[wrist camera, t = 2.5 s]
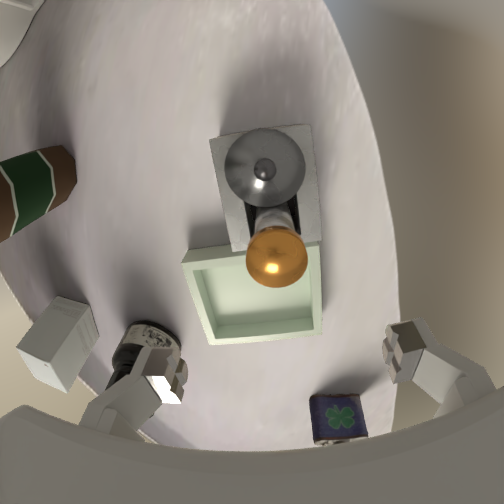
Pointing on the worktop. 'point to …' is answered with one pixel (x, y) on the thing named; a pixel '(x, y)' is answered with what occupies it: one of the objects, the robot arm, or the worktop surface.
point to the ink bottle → (138, 346)
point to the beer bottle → (33, 186)
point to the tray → (251, 298)
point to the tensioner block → (267, 179)
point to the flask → (337, 419)
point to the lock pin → (276, 248)
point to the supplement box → (59, 342)
